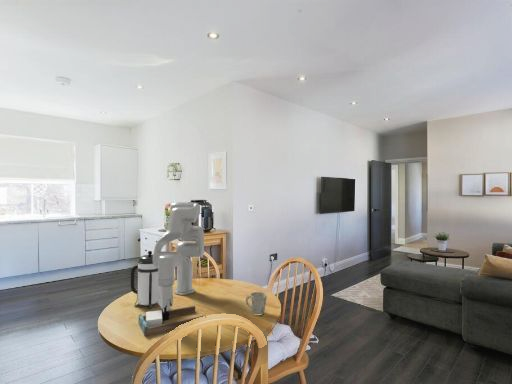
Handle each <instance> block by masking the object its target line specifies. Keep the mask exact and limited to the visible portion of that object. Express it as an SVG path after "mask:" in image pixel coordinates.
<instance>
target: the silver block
mask: <svg viewBox="0 0 512 384" xmlns="http://www.w3.org/2000/svg"><path fill="white" fill-rule="evenodd" d="M145 315H146V324H147V326H148V328H149V327H153V326H158V325H162V324H163V321H162V309H161V310H151V311H146V312H145Z"/></svg>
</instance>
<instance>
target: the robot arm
mask: <svg viewBox="0 0 512 384" xmlns="http://www.w3.org/2000/svg"><path fill="white" fill-rule="evenodd" d="M200 213H201V205H200V204H199V203H198V202H184V201H181V202H180V201H179V202H177V201H176V202H173V203H171V204H170V213H169V217H168V224H167V228H166V232H165V233H164V234H163V235H162V236H161V237H160V238H159V239H158V240H157V242H155V245H154V248H153V252H152V254H153V264H154V266H157V267H158V286H159V287H158V302H157V304H158V305H159V306H160V308H161V311H162V322H164V321H166V322H167V321H168V320H170V317H169V311H170V310H171V308H172V307H173V305H174V304H173V303H174V295H175V294H176V295H178V296H179V295H181V296H183V295H184V296H185V295H186V296H187V295H190V294H193V293H194V292H195V291H196V290H195V288H194V287H193V270H194V268H193V267H194V265H193V262H192V259H190V258H201V257H203V256H204V255H205V233H204V232H205V231H204V228H203V227H202V226H199V225H192V223H196V222H197V220H198V218H199V216H200ZM176 240H179V241H180V242H178V244H177V245H176V246H175V249H176V251H162V249H163V247H164V246H165V245H167V244H168V243H169V244H170V243H171V242H173V241H176ZM175 268H177V269H176V271H177V272H176V288H175V289H173V286H174V285H175Z"/></svg>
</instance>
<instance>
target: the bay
mask: <svg viewBox="0 0 512 384" xmlns="http://www.w3.org/2000/svg"><path fill="white" fill-rule="evenodd" d="M193 313H196V305H190V306H187V307H180V308H176V309H170V311H169V318H173V317H177V316H181V315H182V316H183V315H186V314H187V315H188V314H193ZM203 316H205V317H206V314H205V315H200V316H195V317H191V318H185V319H182V320H177V321H172V322H168V323H162V325H158V326H153V327H149V328H148V326H147V324H146V314H145V315H143V314H142V313H139V314H138V325H139V328H140V329H141V332H142V333H143V337H147V336H152V335H156V334H160V332H161V333H165V332H169V331H173V329H174V330H176V329H175V328H176V327H178V326H179V325H181V324H184V323H186V322H189V321H191V320H193V319H196V318H199V317H203ZM164 331H165V332H164Z"/></svg>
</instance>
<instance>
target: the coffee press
mask: <svg viewBox="0 0 512 384" xmlns="http://www.w3.org/2000/svg"><path fill="white" fill-rule="evenodd" d="M136 270H137V275H136V276H137V278H136V281H137V282H136V287H135V272H136ZM158 287H159V286H158V267H157V266H154V264H153V251H151V250H148V252H147V254H144V255H142V256H140V257H138V260H137V264H136V265H135V266H133V267H132V268H131V271H130V289H131V292H132V293H134V294H136V301H135V303H134V307H138V306H139V305H141V306H148V310H149V309H150V310H151V309H152V306H153V305H155V304H158ZM136 288H137V289H136ZM137 303H138V304H137Z"/></svg>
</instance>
